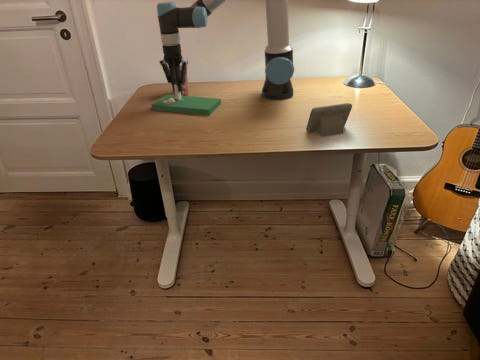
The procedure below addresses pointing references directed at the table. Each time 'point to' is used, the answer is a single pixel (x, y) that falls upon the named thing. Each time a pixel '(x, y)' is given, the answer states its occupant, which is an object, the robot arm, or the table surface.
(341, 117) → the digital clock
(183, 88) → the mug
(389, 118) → the table surface
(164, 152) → the table surface
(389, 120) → the table surface
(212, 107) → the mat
